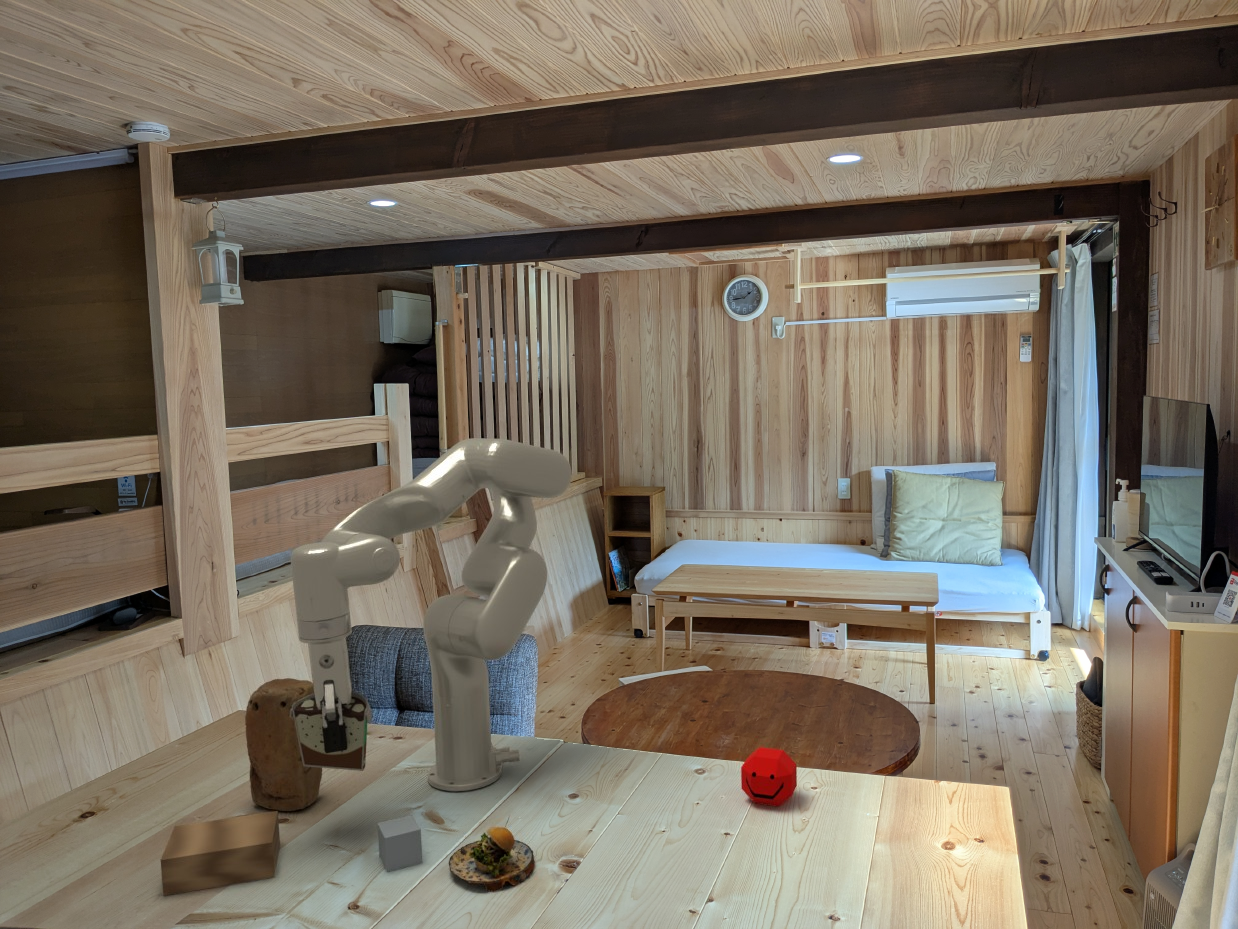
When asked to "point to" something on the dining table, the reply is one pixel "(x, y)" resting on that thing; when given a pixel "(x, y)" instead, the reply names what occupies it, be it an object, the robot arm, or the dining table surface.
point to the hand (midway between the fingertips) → (336, 740)
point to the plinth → (220, 853)
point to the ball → (769, 776)
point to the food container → (312, 735)
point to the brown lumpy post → (278, 748)
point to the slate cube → (399, 843)
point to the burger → (493, 860)
